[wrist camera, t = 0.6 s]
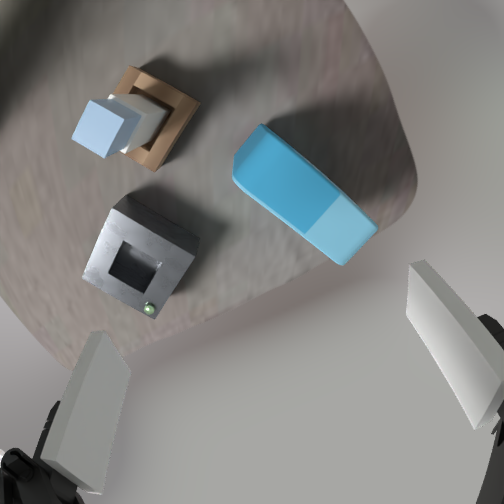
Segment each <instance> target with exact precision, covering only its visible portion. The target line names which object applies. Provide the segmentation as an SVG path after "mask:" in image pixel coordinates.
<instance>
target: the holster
mask: <svg viewBox="0 0 504 504" xmlns="http://www.w3.org/2000/svg"><path fill="white" fill-rule="evenodd" d="M113 94H143V95H145V96H146V97H148V98H150V99H152V100H154V101H155V102H157V103H159V104H161V105H162V106H164V107H166V108H168V109H169V110H171V111H170V113H169V114H168V116H167V118H166V119H165V121H164V123H163V124H162V126H161V128H160V129H159V131H158V133H157V134H156V136H155V138H154V139H153V140H152V141H150V142H147V143H145V144H143V145H141V146H139V147H137V148H135V149H134V150H132V151H130V152H128V153H126V154H124V153H123V152H121V151H119V152H121V153H123V154H124V155H126V156H128V157H129V158H131V159H133V160H135V161H136V162H138V163H140V164H141V165H143V166H145V167H146V168H148V169H150V170H151V171H153V172H156V171H157V170H158V169H159V168H160V167H161V166H162V164H163V163H164V161H165V159H166V158H167V156H168V154H169V153H170V151H171V149H172V148H173V146H174V144H175V143H176V141H177V140H178V138H179V136H180V135H181V133H182V132H183V130H184V128H185V127H186V125H187V124H188V122H189V121H190V119H191V117H192V116H193V114H194V113H195V111H196V110H197V108H198V107H199V105H200V104H201V103H200V102H198V101H196V100H195V99H193V98H191V97H190V96H188V95H186V94H185V93H183V92H181V91H179V90H178V89H176V88H174V87H172V86H171V85H169V84H167V83H165V82H163V81H162V80H160V79H158V78H156V77H154V76H152V75H151V74H149V73H147V72H145V71H143V70H141V69H139V68H137V67H133V66H129V67H128V69H127V70H126V72H125V74H124V75H123V77H122V79H121V80H120V82H119V84H118V86H117V87H116V89H115V91H114V93H113Z"/></svg>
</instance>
